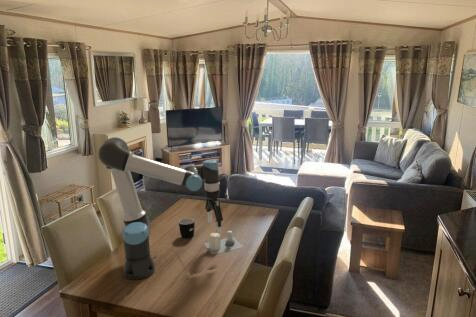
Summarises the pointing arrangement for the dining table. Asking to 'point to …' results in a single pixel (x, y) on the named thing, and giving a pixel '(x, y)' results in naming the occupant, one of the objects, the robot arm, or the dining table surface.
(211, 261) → the dining table surface
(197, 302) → the dining table surface
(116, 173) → the robot arm
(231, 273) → the dining table surface
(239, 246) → the post board
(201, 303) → the dining table surface
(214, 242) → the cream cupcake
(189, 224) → the mug
